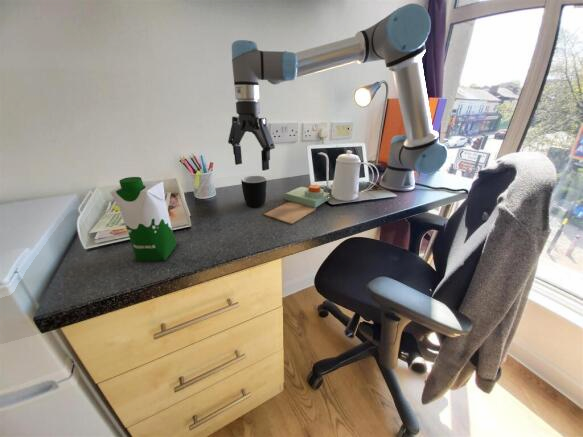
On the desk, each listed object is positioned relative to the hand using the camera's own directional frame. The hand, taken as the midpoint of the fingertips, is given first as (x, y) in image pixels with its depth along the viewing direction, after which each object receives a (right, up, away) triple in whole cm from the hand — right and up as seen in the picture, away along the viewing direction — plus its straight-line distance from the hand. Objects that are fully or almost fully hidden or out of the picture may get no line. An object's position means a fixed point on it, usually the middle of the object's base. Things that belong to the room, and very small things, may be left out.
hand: (251, 166), depth 85 cm
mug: (0, -13, +6) cm, 14 cm away
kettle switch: (+23, -8, +7) cm, 26 cm away
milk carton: (-20, -28, -24) cm, 42 cm away
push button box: (+21, -11, +10) cm, 26 cm away
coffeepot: (+36, -10, +14) cm, 40 cm away
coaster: (+14, -16, -1) cm, 22 cm away
